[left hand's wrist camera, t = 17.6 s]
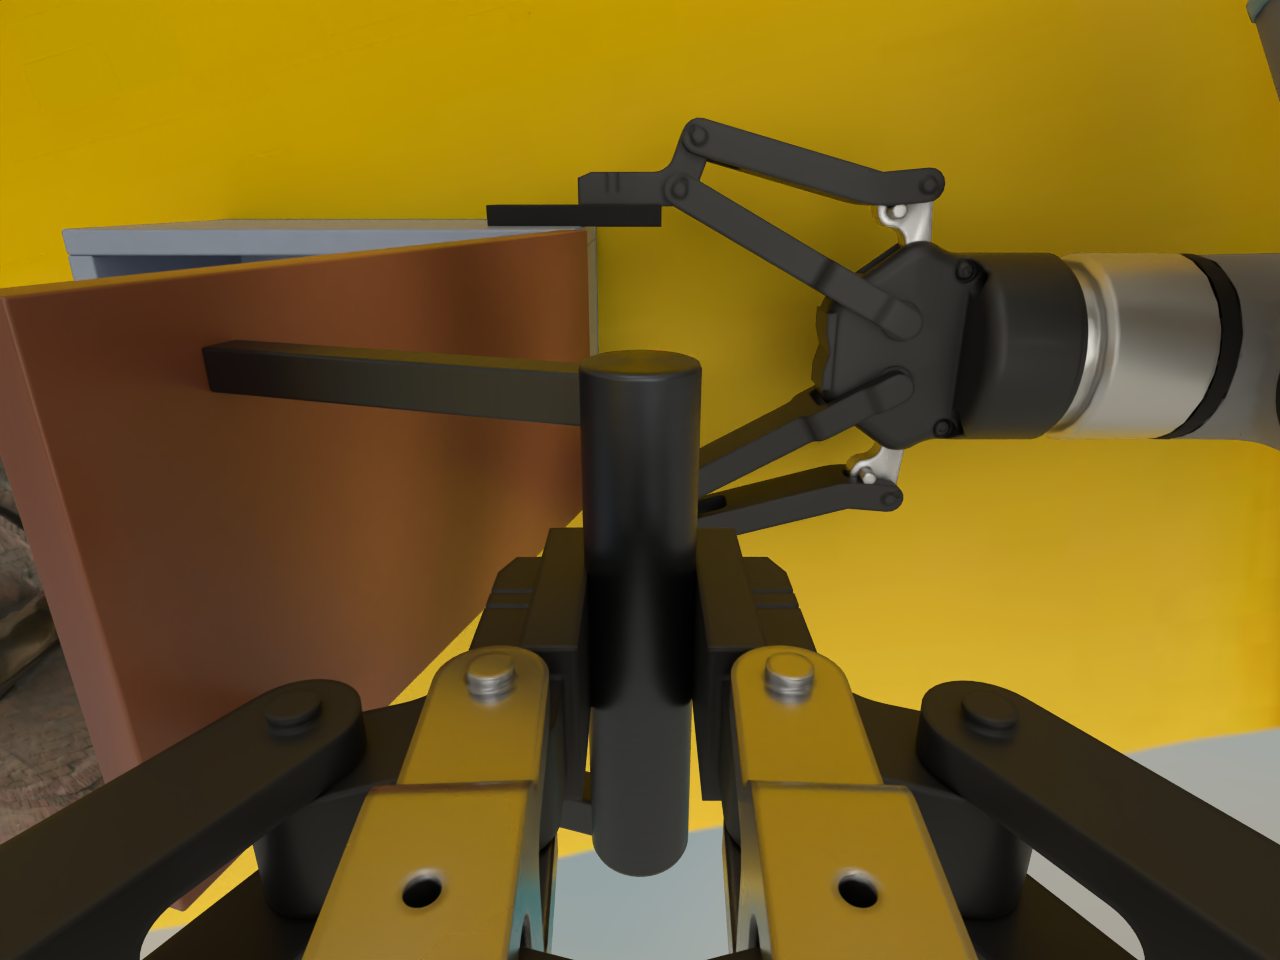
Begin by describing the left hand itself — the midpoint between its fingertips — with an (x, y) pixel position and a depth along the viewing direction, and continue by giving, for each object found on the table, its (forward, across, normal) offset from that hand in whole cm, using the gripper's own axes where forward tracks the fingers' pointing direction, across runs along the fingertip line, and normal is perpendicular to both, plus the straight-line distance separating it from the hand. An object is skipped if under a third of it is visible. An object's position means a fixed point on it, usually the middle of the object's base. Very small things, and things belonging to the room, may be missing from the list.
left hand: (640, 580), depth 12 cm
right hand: (+20, +6, 0) cm, 21 cm away
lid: (+7, +5, 0) cm, 9 cm away
